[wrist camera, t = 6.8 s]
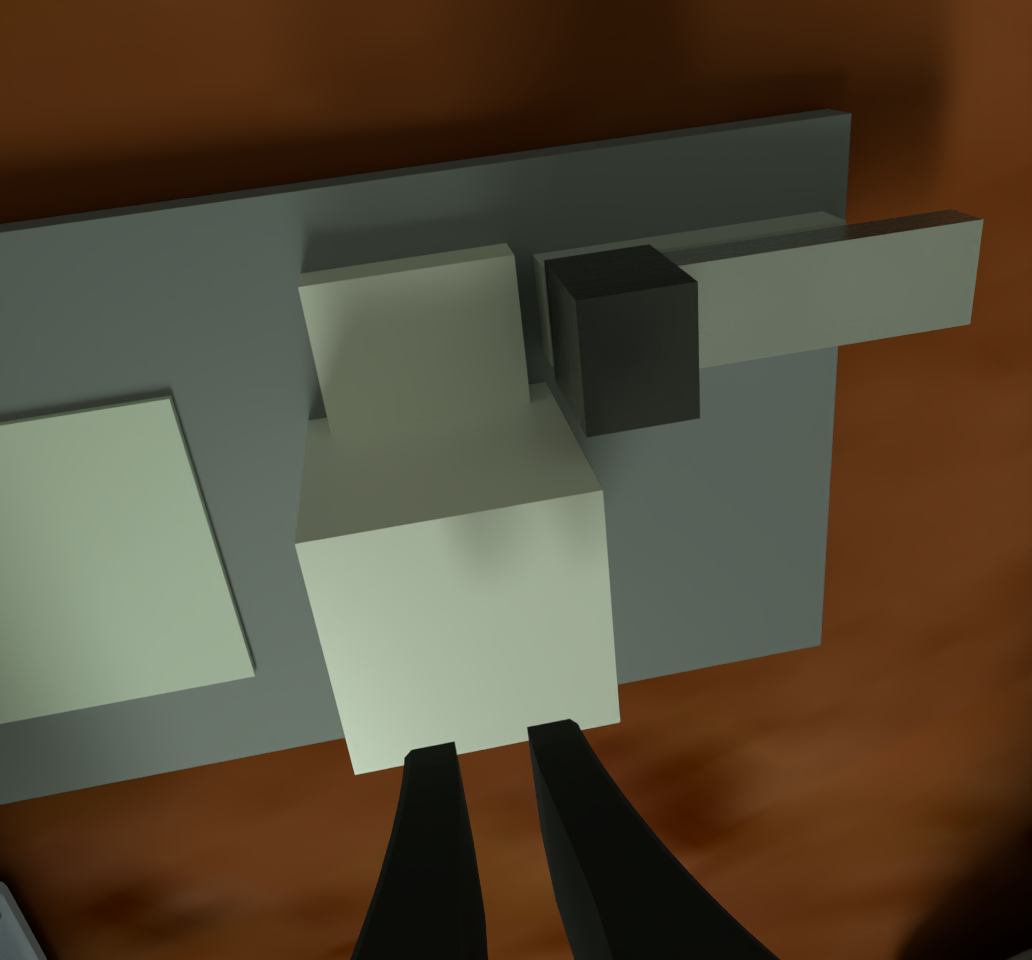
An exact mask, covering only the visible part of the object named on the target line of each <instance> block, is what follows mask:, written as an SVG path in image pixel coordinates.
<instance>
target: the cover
mask: <svg viewBox="0 0 1032 960" xmlns="http://www.w3.org/2000/svg"><path fill="white" fill-rule="evenodd" d="M298 290H299V294H300V299H301V303H302V308H303V312H304V317H305V321H306V325H307V330H308V334H309V339H310V343H311V348H312V352H313V357H314V361H315V366H316V370H317V374H318V379H319V383H320V388H321V392H322V397H323V401H324V406H325V410H326V414H327V417H326V418H320V419H314V420H308V425H307V435H306V444H305V453H304V463H303V472H302V481H301V490H300V500H299V509H298V518H297V527H296V537H295V547H296V551H297V555H298V559H299V562H300V566H301V570H302V574H303V578H304V582H305V585H306V589H307V593H308V597H309V601H310V605H311V608H312V612H313V616H314V620H315V624H316V627H317V631H318V635H319V639H320V643H321V647H322V650H323V654H324V658H325V662H326V666H327V670H328V673H329V677H330V681H331V685H332V689H333V693H334V696H335V700H336V704H337V708H338V712H339V715H340V719H341V723H342V727H343V731H344V735H345V738H346V742H347V746H348V750H349V754H350V758H351V761H352V765H353V769H354V773H355V775H357V774H362V773H367V772H372V771H377V770H382V769H387V768H392V767H397V766H402V765H404V758H405V757H406V755H407V754H408V753H409V752H410V751H411V750H413V749H418V748H423V747H428V746H434V745H439V744H444V743H449V742H454V741H455V746H456V751H457V754H462V753H467V752H473V751H478V750H483V749H488V748H493V747H498V746H503V745H508V744H513V743H518V742H523V741H528V740H529V739H528V732H527V727H530V726H535V725H540V724H545V723H550V722H555V721H560V720H565V719H571V720H573V721H574V722H576V723H578V725H579V727H580V729H581V730H583V729H588V728H593V727H599V726H604V725H609V724H614V723H619V722H620V715H619V701H618V687H617V674H616V660H615V647H614V633H613V620H612V606H611V592H610V579H609V565H608V552H607V538H606V525H605V511H604V497H603V489H602V487H601V486H600V484H599V482H598V480H597V478H596V476H595V474H594V472H593V470H592V468H591V467H590V465H589V463H588V461H587V459H586V457H585V455H584V453H583V451H582V450H581V448H580V446H579V444H578V442H577V440H576V438H575V436H574V434H573V432H572V431H571V429H570V427H569V425H568V423H567V421H566V419H565V417H564V415H563V413H562V412H561V410H560V408H559V406H558V404H557V402H556V400H555V398H554V396H553V395H552V393H551V391H550V389H549V387H548V385H547V383H546V382H541V383H535V384H528V375H527V366H526V357H525V348H524V339H523V329H522V320H521V311H520V302H519V293H518V284H517V275H516V266H515V257H514V254H513V252H512V251H511V249H510V248H509V246H508V245H507V243H503V244H496V245H490V246H483V247H476V248H469V249H463V250H456V251H449V252H442V253H436V254H429V255H422V256H415V257H409V258H402V259H395V260H388V261H382V262H375V263H368V264H362V265H355V266H348V267H341V268H335V269H328V270H321V271H314V272H308V273H301V274H300V279H299V284H298Z"/></svg>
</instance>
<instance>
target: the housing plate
mask: <svg viewBox="0 0 1032 960" xmlns="http://www.w3.org/2000/svg"><path fill="white" fill-rule="evenodd" d="M851 114H852V113H847V112H842V111H837V110H832V109H822V110H815V111H808V112H801V113H794V114H787V115H779V116H772V117H765V118H758V119H751V120H744V121H736V122H729V123H722V124H715V125H708V126H700V127H693V128H686V129H679V130H672V131H665V132H657V133H650V134H643V135H636V136H629V137H622V138H614V139H607V140H600V141H593V142H586V143H579V144H571V145H564V146H557V147H550V148H543V149H535V150H528V151H521V152H514V153H507V154H500V155H492V156H485V157H478V158H471V159H464V160H457V161H449V162H442V163H435V164H428V165H421V166H414V167H406V168H399V169H392V170H385V171H378V172H371V173H363V174H356V175H349V176H342V177H335V178H327V179H320V180H313V181H306V182H299V183H292V184H284V185H277V186H270V187H263V188H256V189H249V190H241V191H234V192H227V193H220V194H213V195H206V196H198V197H191V198H184V199H177V200H170V201H163V202H155V203H148V204H141V205H134V206H127V207H119V208H112V209H105V210H98V211H91V212H84V213H76V214H69V215H62V216H55V217H48V218H41V219H33V220H26V221H19V222H12V223H5V224H0V805H1V804H6V803H11V802H16V801H21V800H26V799H32V798H37V797H42V796H47V795H52V794H57V793H62V792H68V791H73V790H78V789H83V788H88V787H93V786H98V785H104V784H109V783H114V782H119V781H124V780H129V779H134V778H140V777H145V776H150V775H155V774H160V773H165V772H170V771H176V770H181V769H186V768H191V767H196V766H201V765H206V764H212V763H217V762H222V761H227V760H232V759H237V758H242V757H247V756H253V755H258V754H263V753H268V752H273V751H278V750H283V749H289V748H294V747H299V746H304V745H309V744H314V743H319V742H325V741H330V740H335V739H340V738H345V735H344V731H343V727H342V723H341V719H340V715H339V712H338V708H337V704H336V700H335V696H334V693H333V689H332V685H331V681H330V677H329V673H328V670H327V666H326V662H325V658H324V654H323V650H322V647H321V643H320V639H319V635H318V631H317V627H316V624H315V620H314V616H313V612H312V608H311V605H310V601H309V597H308V593H307V589H306V585H305V582H304V578H303V574H302V570H301V566H300V562H299V559H298V555H297V551H296V547H295V537H296V527H297V518H298V509H299V500H300V490H301V481H302V472H303V463H304V453H305V444H306V435H307V425H308V420H314V419H320V418H326V417H327V414H326V410H325V406H324V401H323V397H322V392H321V388H320V383H319V379H318V374H317V370H316V366H315V361H314V357H313V352H312V348H311V343H310V339H309V334H308V330H307V325H306V321H305V317H304V312H303V308H302V303H301V299H300V294H299V290H298V284H299V279H300V274H301V273H308V272H314V271H321V270H328V269H335V268H341V267H348V266H355V265H362V264H368V263H375V262H382V261H388V260H395V259H402V258H409V257H415V256H422V255H429V254H436V253H442V252H449V251H456V250H463V249H469V248H476V247H483V246H490V245H496V244H503V243H507V245H508V246H509V248H510V249H511V251H512V252H513V254H514V257H515V266H516V275H517V284H518V293H519V302H520V311H521V320H522V329H523V339H524V348H525V357H526V366H527V375H528V384H535V383H541V382H546V383H547V385H548V387H549V389H550V391H551V393H552V395H553V396H554V398H555V400H556V402H557V404H558V406H559V408H560V410H561V412H562V413H563V415H564V417H565V419H566V421H567V423H568V425H569V427H570V429H571V431H572V432H573V434H574V436H575V438H576V440H577V442H578V444H579V446H580V448H581V450H582V451H583V453H584V455H585V457H586V459H587V461H588V463H589V465H590V467H591V468H592V470H593V472H594V474H595V476H596V478H597V480H598V482H599V484H600V486H601V487H602V489H603V497H604V511H605V525H606V538H607V552H608V565H609V579H610V592H611V606H612V620H613V633H614V647H615V660H616V674H617V685H618V684H623V683H628V682H633V681H638V680H643V679H648V678H653V677H659V676H664V675H669V674H674V673H679V672H684V671H689V670H695V669H700V668H705V667H710V666H715V665H720V664H725V663H731V662H736V661H741V660H746V659H751V658H756V657H761V656H767V655H772V654H777V653H782V652H787V651H792V650H797V649H803V648H808V647H813V646H818V645H821V629H822V612H823V595H824V578H825V561H826V543H827V526H828V509H829V492H830V475H831V458H832V440H833V423H834V406H835V389H836V372H837V355H838V346H834V347H827V348H821V349H815V350H809V351H803V352H797V353H791V354H785V355H779V356H773V357H766V358H760V359H754V360H748V361H742V362H736V363H730V364H724V365H718V366H712V367H706V368H699V383H700V419H694V420H688V421H682V422H676V423H670V424H664V425H658V426H652V427H646V428H640V429H635V430H629V431H623V432H617V433H611V434H605V435H599V436H593V437H586V436H585V434H584V432H583V430H582V428H581V427H580V425H579V423H578V421H577V419H576V418H575V416H574V414H573V412H572V410H571V409H570V407H569V405H568V403H567V401H566V400H565V398H564V396H563V394H562V392H561V391H560V389H559V387H558V385H557V383H556V382H555V371H554V361H553V350H552V340H551V329H550V319H549V308H548V298H547V287H546V277H545V266H544V260H548V259H555V258H561V257H568V256H574V255H581V254H588V253H594V252H601V251H608V250H614V249H621V248H628V247H634V246H641V245H648V244H650V245H651V246H652V247H654V248H655V249H656V250H658V251H659V252H660V253H666V252H672V251H679V250H686V249H692V248H699V247H705V246H712V245H719V244H725V243H732V242H738V241H745V240H751V239H758V238H765V237H771V236H778V235H784V234H791V233H798V232H804V231H811V230H817V229H824V228H831V227H837V226H844V225H846V221H845V217H846V200H847V183H848V166H849V149H850V132H851Z"/></svg>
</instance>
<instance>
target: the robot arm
mask: <svg viewBox="0 0 1032 960" xmlns="http://www.w3.org/2000/svg"><path fill="white" fill-rule="evenodd" d="M527 732H528V739H529V746H530V754H531V761H532V768H533V775H534V783H535V790H536V797H537V805H538V812H539V819H540V827H541V833H542V837H543V842H544V847H545V852H546V856H547V861H548V866H549V870H550V875H551V880H552V884H553V889H554V894H555V898H556V902H557V906H558V909H559V912H560V915H561V918H562V922H563V925H564V928H565V931H566V934H567V937H568V941H569V944H570V947H571V950H572V953H573V956H574V960H780V959H779V958H777V957H776V956H775V955H774V954H773V953H772V952H771V951H770V950H768V949H767V948H766V947H765V946H764V945H763V944H762V943H761V942H759V941H758V940H757V939H756V938H755V937H754V936H753V935H752V934H750V933H749V932H748V931H747V930H746V929H745V928H744V927H743V926H742V925H741V924H740V923H739V922H738V921H737V920H736V919H735V918H733V917H732V916H731V915H730V914H729V913H728V912H727V911H726V910H725V909H724V908H723V907H722V906H721V905H720V904H719V903H718V902H717V901H716V900H715V899H714V898H713V897H712V896H711V895H710V894H709V893H708V892H707V891H706V890H705V889H704V888H703V887H702V886H701V885H700V884H699V883H698V882H697V880H696V879H695V878H694V877H693V876H692V875H691V874H690V873H689V872H688V871H687V870H686V869H685V867H684V866H683V865H682V864H681V863H680V862H679V861H678V860H677V859H676V858H675V856H674V855H673V854H672V853H671V852H670V851H669V850H668V849H667V847H666V846H665V845H664V844H663V843H662V842H661V840H660V839H659V838H658V837H657V836H656V835H655V833H654V832H653V831H652V830H651V828H650V827H649V826H648V825H647V823H646V822H645V821H644V820H643V818H642V817H641V816H640V815H639V813H638V812H637V811H636V810H635V809H634V807H633V806H632V805H631V804H630V802H629V801H628V800H627V798H626V797H625V796H624V794H623V793H622V792H621V790H620V789H619V788H618V786H617V785H616V783H615V782H614V781H613V779H612V778H611V776H610V775H609V774H608V772H607V771H606V769H605V768H604V766H603V765H602V763H601V762H600V760H599V759H598V757H597V756H596V754H595V753H594V751H593V750H592V748H591V746H590V745H589V743H588V741H587V740H586V738H585V736H584V734H583V733H582V731H581V729H580V727H579V725H578V723H576V722H574V721H573V720H571V719H565V720H560V721H555V722H550V723H545V724H540V725H535V726H530V727H527ZM0 960H47V958H46V956H45V955H44V953H43V951H42V949H41V947H40V945H39V944H38V942H37V940H36V938H35V936H34V934H33V933H32V931H31V929H30V927H29V925H28V924H27V922H26V920H25V918H24V916H23V914H22V913H21V911H20V909H19V907H18V905H17V903H16V902H15V900H14V898H13V896H12V894H11V892H10V891H9V889H8V887H7V886H6V885H5V884H4V883H3V882H1V881H0ZM350 960H488V954H487V937H486V921H485V912H484V906H483V899H482V893H481V886H480V880H479V873H478V867H477V860H476V854H475V848H474V842H473V836H472V831H471V826H470V820H469V815H468V810H467V804H466V799H465V794H464V788H463V783H462V778H461V772H460V767H459V762H458V756H457V751H456V746H455V741H454V742H449V743H444V744H439V745H434V746H428V747H423V748H418V749H413V750H411V751H410V752H409V753H408V754H407V755H406V757H405V758H404V770H403V778H402V785H401V791H400V797H399V802H398V807H397V811H396V816H395V820H394V824H393V829H392V833H391V837H390V840H389V844H388V847H387V851H386V855H385V858H384V862H383V865H382V869H381V872H380V876H379V879H378V882H377V886H376V889H375V892H374V895H373V898H372V901H371V904H370V906H369V909H368V912H367V915H366V918H365V921H364V923H363V926H362V929H361V932H360V935H359V938H358V940H357V943H356V946H355V949H354V951H353V954H352V956H351V959H350Z"/></svg>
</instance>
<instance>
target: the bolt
mask: <svg viewBox="0 0 1032 960" xmlns="http://www.w3.org/2000/svg"><path fill="white" fill-rule="evenodd" d="M982 227H983V219H981V218H978V217H975V216H972V215H969V214H965V213H962V212H959V211H956V210H953V209H949V210H943V211H936V212H929V213H923V214H916V215H910V216H903V217H897V218H890V219H883V220H877V221H870V222H864V223H857V224H850V225H844V226H837V227H831V228H824V229H817V230H811V231H804V232H798V233H791V234H784V235H778V236H771V237H765V238H758V239H751V240H745V241H738V242H732V243H725V244H719V245H712V246H705V247H699V248H692V249H686V250H679V251H672V252H666V253H660V252H659V251H658V250H656V249H655V248H654V247H652V246H651V245H650V244H648V245H641V246H634V247H628V248H621V249H614V250H608V251H601V252H594V253H588V254H581V255H574V256H568V257H561V258H555V259H548V260H544V266H545V277H546V287H547V298H548V308H549V319H550V329H551V340H552V350H553V361H554V371H555V382H556V383H557V385H558V387H559V389H560V391H561V392H562V394H563V396H564V398H565V400H566V401H567V403H568V405H569V407H570V409H571V410H572V412H573V414H574V416H575V418H576V419H577V421H578V423H579V425H580V427H581V428H582V430H583V432H584V434H585V436H586V437H593V436H599V435H605V434H611V433H617V432H623V431H629V430H635V429H640V428H646V427H652V426H658V425H664V424H670V423H676V422H682V421H688V420H694V419H700V383H699V368H706V367H712V366H718V365H724V364H730V363H736V362H742V361H748V360H754V359H760V358H766V357H773V356H779V355H785V354H791V353H797V352H803V351H809V350H815V349H821V348H827V347H834V346H840V345H846V344H852V343H858V342H864V341H870V340H876V339H882V338H888V337H895V336H901V335H907V334H913V333H919V332H925V331H931V330H937V329H943V328H949V327H955V326H962V325H968V324H970V321H971V313H972V305H973V297H974V289H975V282H976V274H977V266H978V258H979V250H980V242H981V235H982Z"/></svg>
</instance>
